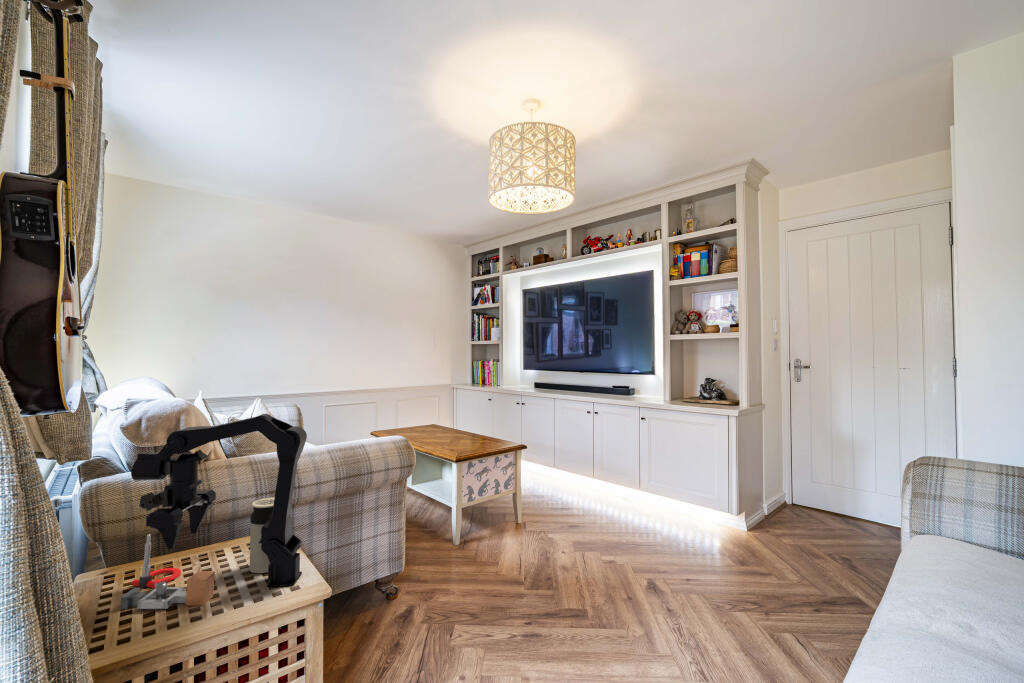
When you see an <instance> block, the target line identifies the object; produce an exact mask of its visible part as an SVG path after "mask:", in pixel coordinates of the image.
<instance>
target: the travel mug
mask: <svg viewBox="0 0 1024 683" xmlns="http://www.w3.org/2000/svg"><path fill="white" fill-rule="evenodd" d="M274 498H275V497H266V498H261V499H257V500H256V501H253V502H252V503H251V506H252V509H253V511H252V513H251V515H250V528H249V529H250V532H249V533H250V534H249V538H250V539H249V540H250V541H249V571H250V572H251V573H255V574H265V573H266V574H267V573H268V565H269V564H270V562H269V559H268V557H267V555H266V554H265V553H264V552H263V551H262V549H261V544H262V543H261V544H259V542H260V539H261V528H262V526H263V525H264V524H265V523H266V522H267V521H268V520H269V519H271V518H272V512H273V505H274Z"/></svg>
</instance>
